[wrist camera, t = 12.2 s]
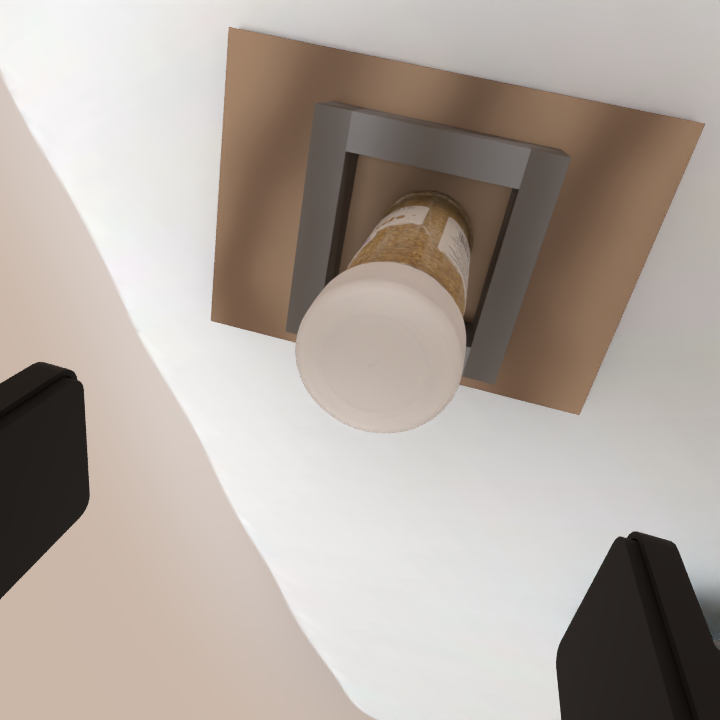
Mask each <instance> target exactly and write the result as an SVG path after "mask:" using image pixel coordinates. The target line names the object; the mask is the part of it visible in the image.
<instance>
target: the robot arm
mask: <svg viewBox="0 0 720 720" xmlns="http://www.w3.org/2000/svg"><path fill="white" fill-rule="evenodd" d="M89 496H90V494H89V475H88V457H87V441H86V422H85V404H84V389H83V385H82V383H81V382H80V381H78V380H77V376H76V374H75V373H74V372H73V371H71V370H69V369H66V368H62V367H59V366H55V365H52V364H48V363H44V362H37V363H35V364H32V365H31V366H29V367H27V368H26V369H24V370H23V371H21V372H19V373H17V374H16V375H14V376H12V377H10V378H9V379H7V380H5V381H4V382H2V383H0V599H1V598H2V596H4V595H5V594H6V593H7V592H8V591H9V590H10V589H11V587H12V586H13V585H14V584H15V583H16V582H17V581H18V580H19V579H20V578H21V577H22V576H23V575H24V574H25V573H26V572H27V571H28V570H29V569H30V568H31V567H32V566H33V565H34V564H35V563H36V562H37V561H38V560H39V559H40V558H41V557H42V556H43V554H45V553H46V552H47V550H49V549H50V547H51V546H52V545H53V544H54V543H55V542H56V541H57V540H58V539H59V538H60V537H61V536H62V535H63V534H64V533H65V532H66V531H67V530H68V529H69V528H70V527H71V526H72V525H73V524H74V523H75V522H76V521H77V520H78V519H79V518H80V517H81V515H82V514H83V513H84V511H85V510H86V507H87V505H88V501H89ZM556 670H557V680H558V690H559V700H560V710H561V720H720V650H719V649H718V648H717V647H716V646H715V644H714V641H713V639H712V636H711V634H710V631H709V629H708V626H707V623H706V621H705V618H704V616H703V613H702V610H701V608H700V605H699V603H698V600H697V598H696V595H695V592H694V590H693V587H692V585H691V582H690V579H689V577H688V574H687V572H686V569H685V567H684V564H683V561H682V559H681V556H680V554H679V551H678V549H677V547H676V545H675V544H674V543H673V542H671V541H668V540H665V539H661V538H658V537H654V536H651V535H647V534H644V533H640V532H637V531H636V532H632V533H631V534H629V536H628V537H627V538H624V537H618V538H616V540H615V541H614V542H613V544H612V546H611V548H610V550H609V552H608V554H607V556H606V557H605V559H604V561H603V563H602V565H601V567H600V569H599V571H598V572H597V574H596V576H595V578H594V580H593V582H592V584H591V586H590V588H589V589H588V591H587V593H586V595H585V597H584V599H583V601H582V603H581V604H580V606H579V608H578V610H577V612H576V614H575V616H574V618H573V619H572V621H571V623H570V625H569V627H568V629H567V631H566V633H565V634H564V636H563V638H562V640H561V642H560V644H559V647H558V651H557V658H556Z"/></svg>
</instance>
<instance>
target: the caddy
mask: <svg viewBox="0 0 720 720" xmlns="http://www.w3.org/2000/svg"><path fill="white" fill-rule="evenodd" d="M704 125H705V124H704V123H699V122H694V121H689V120H684V119H679V118H675V117H670V116H665V115H660V114H655V113H650V112H645V111H640V110H635V109H630V108H625V107H620V106H615V105H610V104H606V103H601V102H596V101H591V100H586V99H581V98H576V97H571V96H566V95H561V94H556V93H551V92H546V91H542V90H537V89H532V88H527V87H522V86H517V85H512V84H507V83H502V82H497V81H492V80H487V79H482V78H478V77H473V76H468V75H463V74H458V73H453V72H448V71H443V70H438V69H433V68H428V67H423V66H418V65H413V64H409V63H404V62H399V61H394V60H389V59H384V58H379V57H374V56H369V55H364V54H359V53H354V52H349V51H345V50H340V49H335V48H330V47H325V46H320V45H315V44H310V43H305V42H300V41H295V40H290V39H285V38H281V37H276V36H271V35H266V34H261V33H256V32H251V31H246V30H241V29H236V28H231V27H229V33H228V49H227V66H226V82H225V98H224V115H223V131H222V147H221V164H220V180H219V196H218V213H217V229H216V245H215V262H214V278H213V294H212V311H211V321H214V322H218V323H222V324H226V325H229V326H233V327H237V328H241V329H245V330H249V331H253V332H257V333H261V334H265V335H268V336H272V337H276V338H280V339H284V340H288V341H292V342H296V339H297V334H298V330H299V326H300V324H301V321H302V319H303V318H304V316H305V314H306V312H307V311H308V309H309V308H310V306H311V305H312V303H313V302H314V300H315V299H316V298H317V296H318V295H319V294H320V293H321V291H322V290H323V289H324V288H325V287H326V285H327V284H328V283H329V282H330V281H331V280H333V279H334V278H335V277H337V276H338V275H339V274H341V273H342V272H344V271H346V270H347V268H348V266H349V264H350V262H351V261H352V259H353V258H354V256H355V255H356V254H357V252H358V251H359V250H360V248H361V247H362V246H363V244H364V243H365V242H366V240H367V239H368V237H369V236H370V234H371V233H372V231H373V230H374V229H375V227H376V226H377V225H378V223H379V222H380V220H381V219H382V216H383V214H384V212H385V211H386V210H387V209H388V208H389V207H390V206H391V205H392V204H393V203H394V202H395V201H396V200H398V199H400V198H401V197H403V196H404V195H407V194H409V193H413V192H422V191H433V192H438V193H442V194H445V195H446V196H448V197H449V198H451V199H452V200H453V201H455V202H456V203H457V204H459V205H460V206H461V208H462V210H463V211H464V212H465V214H466V215H467V216H468V218H469V221H470V224H471V228H472V231H473V244H472V251H471V254H470V268H469V277H468V287H467V298H466V307H465V312H464V316H463V320H464V325H465V330H466V351H465V359H464V366H463V371H462V376H461V380H460V383H459V384H460V385H464V386H467V387H471V388H475V389H479V390H483V391H487V392H491V393H495V394H499V395H503V396H506V397H510V398H514V399H518V400H522V401H526V402H530V403H534V404H538V405H542V406H545V407H549V408H553V409H557V410H561V411H565V412H569V413H573V414H577V415H580V412H581V410H582V408H583V405H584V403H585V401H586V398H587V396H588V394H589V391H590V389H591V387H592V384H593V382H594V380H595V378H596V375H597V373H598V371H599V368H600V366H601V364H602V361H603V359H604V357H605V354H606V352H607V350H608V347H609V345H610V343H611V341H612V338H613V336H614V334H615V331H616V329H617V327H618V324H619V322H620V320H621V317H622V315H623V313H624V310H625V308H626V306H627V304H628V301H629V299H630V297H631V294H632V292H633V290H634V287H635V285H636V283H637V280H638V278H639V276H640V273H641V271H642V269H643V267H644V264H645V262H646V260H647V257H648V255H649V253H650V250H651V248H652V246H653V243H654V241H655V239H656V236H657V234H658V232H659V230H660V227H661V225H662V223H663V220H664V218H665V216H666V213H667V211H668V209H669V206H670V204H671V202H672V199H673V197H674V195H675V193H676V190H677V188H678V186H679V183H680V181H681V179H682V176H683V174H684V172H685V169H686V167H687V165H688V162H689V160H690V158H691V156H692V153H693V151H694V149H695V146H696V144H697V142H698V139H699V137H700V135H701V132H702V130H703V128H704Z"/></svg>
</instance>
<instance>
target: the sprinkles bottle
mask: <svg viewBox="0 0 720 720" xmlns="http://www.w3.org/2000/svg"><path fill="white" fill-rule="evenodd" d="M472 244H473V231H472V228H471V224H470V221H469V218H468V216H467V215H466V214H465V212H464V211H463V210H462V208H461V206H460V205H459V204H457V203H456V202H455V201H453V200H452V199H451V198H449V197H448V196H446V195H445V194H442V193H438V192H433V191H422V192H413V193H409V194H407V195H404V196H403V197H401V198H400V199H398V200H396V201H395V202H394V203H393V204H392V205H391V206H390V207H389V208H388V209H387V210H386V211H385V212H384V214H383V216H382V219H381V220H380V222H379V223H378V225H377V226H376V227H375V229H374V230H373V231H372V233H371V234H370V236H369V237H368V239H367V240H366V242H365V243H364V244H363V246H362V247H361V248H360V250H359V251H358V252H357V254H356V255H355V256H354V258H353V259H352V261H351V262H350V264H349V266H348V268H347V270H346V271H344V272H342V273H341V274H339V275H338V276H337V277H335V278H334V279H333V280H331V281H330V282H329V283H328V284H327V285H326V287H325V288H324V289H323V290H322V291H321V293H320V294H319V295H318V296H317V298H316V299H315V300H314V302H313V303H312V305H311V306H310V308H309V309H308V311H307V312H306V314H305V316H304V318H303V319H302V321H301V324H300V326H299V330H298V334H297V339H296V351H295V352H296V361H297V366H298V370H299V374H300V377H301V379H302V381H303V383H304V385H305V387H306V389H307V390H308V392H309V394H310V395H311V396H312V398H313V399H314V400H315V401H316V402H317V403H318V405H319V406H320V407H321V408H323V409H324V410H325V411H326V412H327V413H329V414H330V415H331V416H333V417H334V418H336V419H337V420H339V421H341V422H342V423H344V424H346V425H349V426H351V427H354V428H357V429H360V430H364V431H368V432H376V433H395V432H402V431H406V430H410V429H413V428H416V427H418V426H420V425H423V424H425V423H426V422H428V421H430V420H431V419H433V418H434V417H435V416H437V415H438V414H439V413H440V412H441V411H442V410H443V409H444V408H445V407H446V406H447V405H448V404H449V402H450V401H451V400H452V398H453V396H454V394H455V392H456V390H457V388H458V386H459V383H460V380H461V376H462V371H463V366H464V359H465V351H466V330H465V325H464V320H463V316H464V312H465V307H466V298H467V287H468V277H469V268H470V254H471V251H472Z"/></svg>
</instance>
